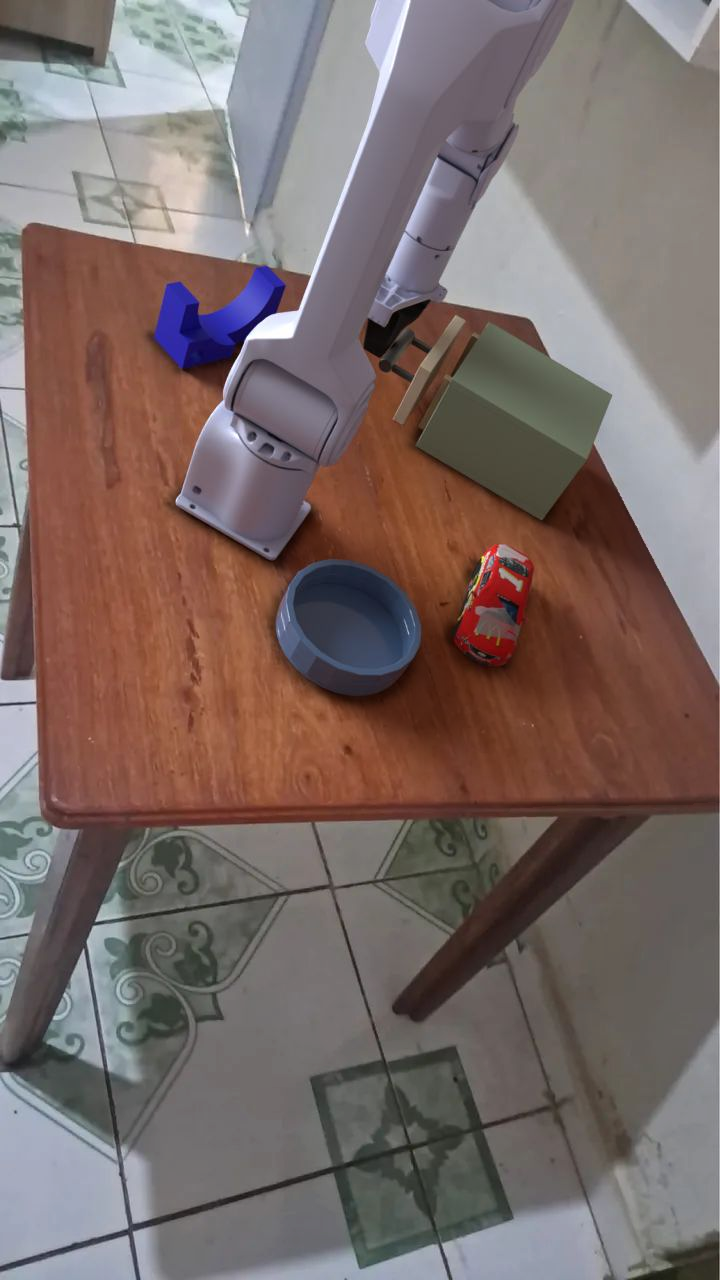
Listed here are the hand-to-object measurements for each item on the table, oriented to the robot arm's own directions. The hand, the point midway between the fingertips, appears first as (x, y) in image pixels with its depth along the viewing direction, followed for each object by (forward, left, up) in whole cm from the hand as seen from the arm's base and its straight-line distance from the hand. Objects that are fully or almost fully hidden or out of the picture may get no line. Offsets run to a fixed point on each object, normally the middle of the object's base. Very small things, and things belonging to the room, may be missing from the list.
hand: (373, 350), depth 96 cm
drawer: (+10, 0, -2) cm, 10 cm away
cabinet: (+16, 0, -3) cm, 16 cm away
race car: (+22, -22, -3) cm, 31 cm away
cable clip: (-13, -8, -3) cm, 16 cm away
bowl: (+12, -33, -3) cm, 35 cm away
